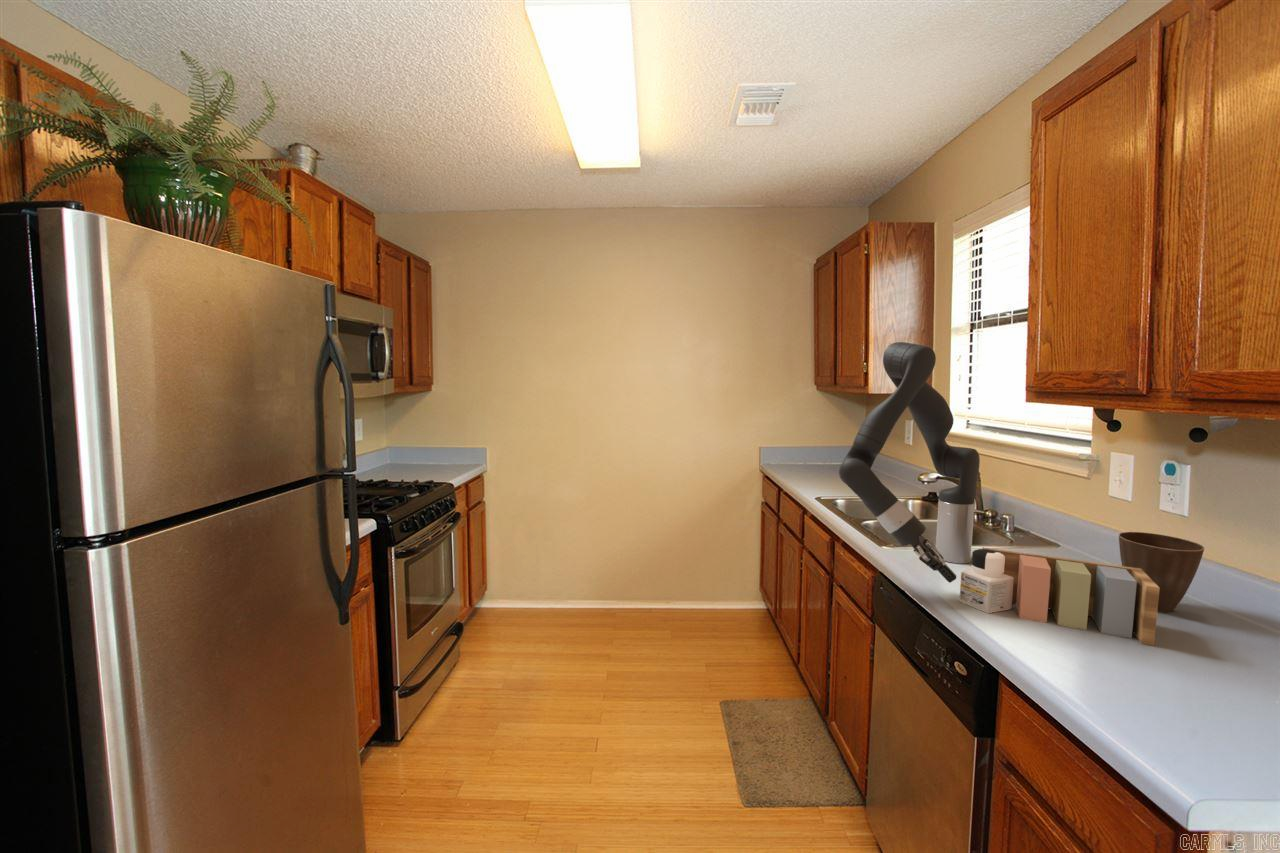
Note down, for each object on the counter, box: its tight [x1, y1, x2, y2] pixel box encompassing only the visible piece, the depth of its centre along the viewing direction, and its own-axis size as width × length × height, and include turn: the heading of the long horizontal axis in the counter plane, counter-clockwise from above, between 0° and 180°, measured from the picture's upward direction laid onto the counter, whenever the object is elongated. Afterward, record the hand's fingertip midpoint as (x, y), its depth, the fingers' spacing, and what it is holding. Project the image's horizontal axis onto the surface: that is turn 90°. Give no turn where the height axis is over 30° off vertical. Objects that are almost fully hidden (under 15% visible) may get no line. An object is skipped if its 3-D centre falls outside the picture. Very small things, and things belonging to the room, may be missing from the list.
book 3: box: [1092, 565, 1137, 639], centre depth 124 cm, size 9×5×12 cm, turn 151°
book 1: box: [1015, 555, 1051, 623], centre depth 131 cm, size 9×5×12 cm, turn 151°
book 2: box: [1051, 560, 1091, 631], centre depth 128 cm, size 9×5×12 cm, turn 151°
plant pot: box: [1118, 531, 1205, 613], centre depth 136 cm, size 15×15×16 cm
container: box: [959, 548, 1014, 614], centre depth 135 cm, size 8×8×13 cm
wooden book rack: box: [981, 547, 1160, 647], centre depth 128 cm, size 14×30×12 cm, turn 61°
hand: (953, 579), depth 139 cm, fingers closed
